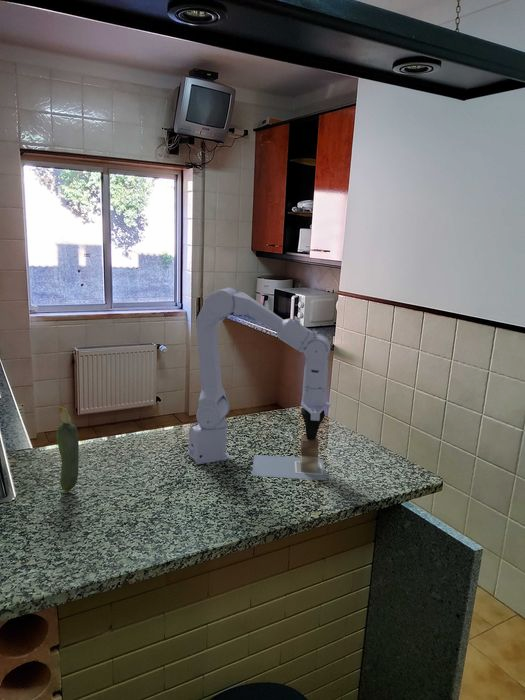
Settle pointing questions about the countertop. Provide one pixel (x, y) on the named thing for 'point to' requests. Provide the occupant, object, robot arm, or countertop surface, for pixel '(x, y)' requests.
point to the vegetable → (68, 450)
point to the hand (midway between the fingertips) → (310, 438)
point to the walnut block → (309, 446)
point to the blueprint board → (285, 468)
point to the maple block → (309, 464)
